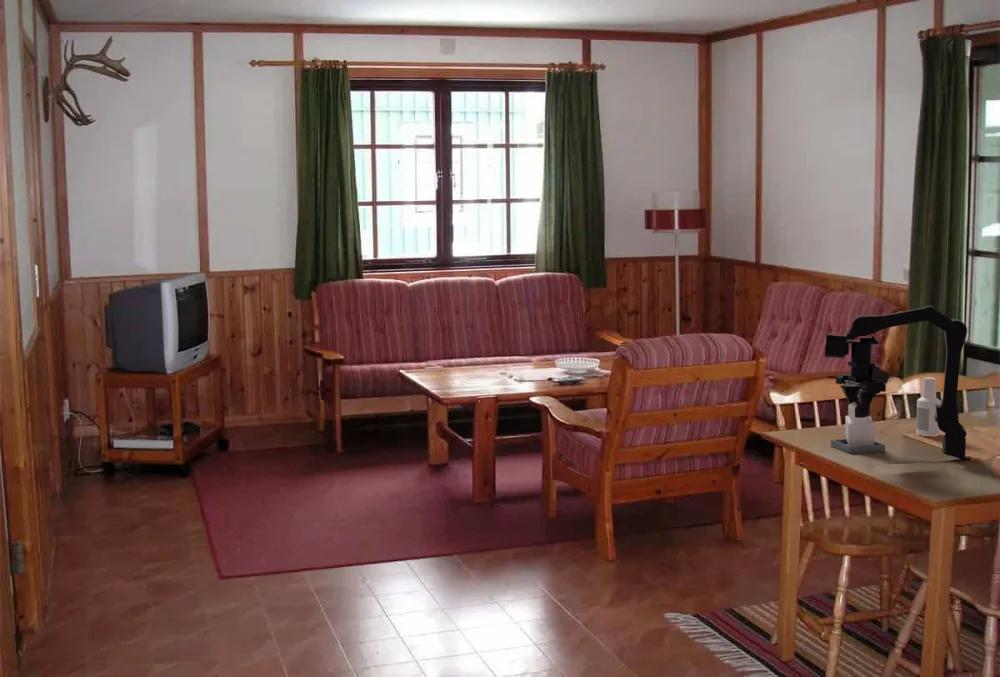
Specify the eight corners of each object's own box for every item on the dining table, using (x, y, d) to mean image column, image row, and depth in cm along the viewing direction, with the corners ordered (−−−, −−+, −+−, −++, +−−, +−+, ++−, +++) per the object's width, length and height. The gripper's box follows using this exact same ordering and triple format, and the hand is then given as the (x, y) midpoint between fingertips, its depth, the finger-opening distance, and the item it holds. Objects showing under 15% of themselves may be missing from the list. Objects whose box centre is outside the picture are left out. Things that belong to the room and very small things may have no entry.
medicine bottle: (870, 436, 352) (870, 398, 349) (874, 446, 346) (873, 407, 342) (845, 437, 354) (844, 399, 350) (848, 447, 347) (848, 408, 343)
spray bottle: (919, 432, 372) (921, 375, 370) (942, 435, 368) (944, 377, 366) (913, 436, 366) (915, 378, 365) (936, 438, 363) (937, 380, 361)
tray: (885, 451, 344) (885, 444, 344) (849, 453, 341) (849, 446, 341) (865, 444, 355) (865, 437, 354) (830, 446, 352) (830, 439, 352)
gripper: (903, 362, 338) (901, 416, 339) (869, 354, 356) (867, 406, 358) (868, 363, 335) (866, 417, 337) (835, 355, 353) (833, 407, 355)
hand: (859, 412), depth 347 cm, fingers closed on medicine bottle, 6 cm apart
